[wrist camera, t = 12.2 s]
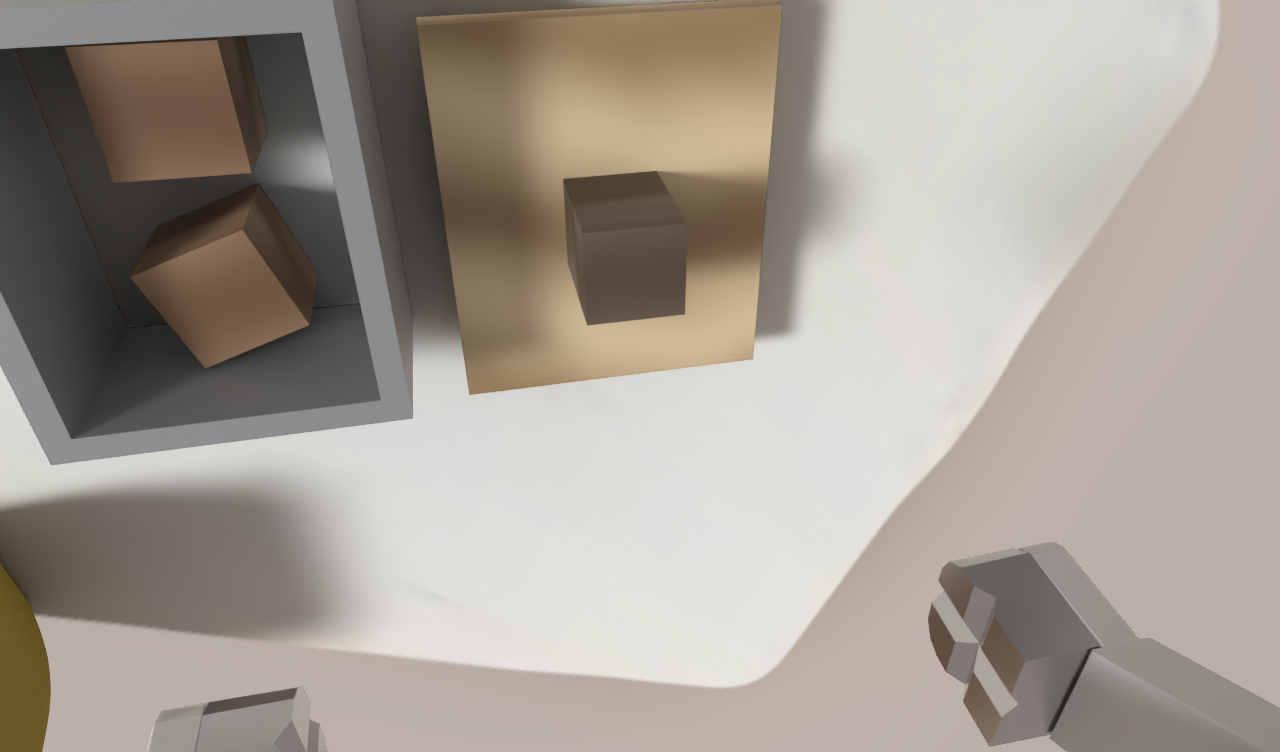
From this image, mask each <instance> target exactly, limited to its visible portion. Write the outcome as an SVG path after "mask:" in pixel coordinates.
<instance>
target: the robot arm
mask: <svg viewBox="0 0 1280 752" xmlns="http://www.w3.org/2000/svg"><path fill="white" fill-rule="evenodd" d="M939 582H940V584H941V586H942V587H943V589H944V591H943V592H942V593H941V594H940V595H939V596H938V597H937V598H936V599H935V600H934V601H933V602H932V604H931V609H930V613H929V617H928V623H929V631H930V639H931V642H932V644H933V647H934V649H935V652H936V655H937V657H938V658H939V660H940V662H941V664H942V666H943V667H944V669H945V671H946V672H947V673H949V674H950V675H952V676H953V677H955V678H957V679H958V680H959V681H961V682H963V683H964V684H965V689H964V697H963V702H964V704H965V706H966V707H967V709H968V711H969V712H970V714H971V716H972V717H973V719H974V721H975V723H976V724H977V726H978V728H979V730H980V731H981V733H982V735H983V736H984V738H985V740H986V742H987V743H988V745H989V746H990V747H991V746H996V745H1001V744H1005V743H1011V742H1016V741H1021V740H1026V739H1031V738H1036V737H1040V736H1046V735H1051V736H1050V739H1051V740H1052V741H1054V742H1055V743H1056V744H1058V745H1059V746H1060V747H1061V748H1063V749H1064V750H1065V751H1067V752H1280V708H1279V707H1277V706H1275V705H1273V704H1272V703H1270V702H1268V701H1266V700H1264V699H1262V698H1261V697H1259V696H1257V695H1255V694H1253V693H1251V692H1249V691H1247V690H1246V689H1244V688H1242V687H1240V686H1238V685H1236V684H1235V683H1233V682H1231V681H1229V680H1227V679H1225V678H1224V677H1222V676H1220V675H1218V674H1216V673H1214V672H1213V671H1211V670H1209V669H1207V668H1205V667H1203V666H1201V665H1200V664H1198V663H1196V662H1194V661H1192V660H1190V659H1189V658H1187V657H1185V656H1183V655H1181V654H1179V653H1177V652H1176V651H1174V650H1172V649H1170V648H1168V647H1166V646H1165V645H1162V644H1161V643H1159V642H1157V641H1155V640H1153V639H1151V638H1144V639H1139V638H1138V637H1137V636H1136V634H1135V633H1134V632H1133V631H1132V630H1131V628H1130V627H1129V626H1128V625H1127V624H1126V622H1125V621H1124V620H1123V619H1122V617H1121V616H1120V615H1119V614H1118V612H1117V611H1116V610H1115V609H1114V608H1113V606H1112V605H1111V604H1110V603H1109V601H1108V600H1107V599H1106V598H1105V597H1104V595H1103V594H1102V593H1101V592H1100V590H1098V588H1097V587H1096V586H1095V584H1094V583H1093V582H1092V581H1091V579H1090V578H1089V577H1088V576H1087V575H1086V573H1085V572H1084V571H1083V570H1082V569H1081V567H1080V566H1079V565H1078V564H1077V562H1075V560H1074V559H1073V558H1072V556H1071V555H1070V554H1069V553H1068V552H1067V550H1066V549H1065V548H1064V547H1062V546H1060V545H1059V544H1057V543H1056V542H1048V543H1042V544H1038V545H1033V546H1028V547H1024V548H1019V549H1015V548H1012V549H1008V550H1002V551H998V552H993V553H988V554H984V555H978V556H974V557H969V558H964V559H959V560H954V561H950V562H948V563H947V564H946V565H945V566H944V567H943V568H942V570H941V574H940V577H939ZM310 705H311V702H310V700H309V698H308V695H307V693H306V691H305V689H304V687H303V686H301V687H296V688H289V689H283V690H278V691H272V692H266V693H260V694H255V695H249V696H243V697H237V698H232V699H225V700H220V701H214V702H207V703H201V704H196V705H190V706H186V707H180V708H174V709H169V710H164V711H162V712H161V714H160V715H159V717H158V719H157V720H156V722H155V724H154V726H153V728H152V732H151V736H150V740H149V744H148V748H147V752H328V751H327V746H326V742H325V737H324V734H323V732H322V729H321V726H320V724H319V723H316V722H314V721H312V720H310V719H309V718H310V717H309V716H310Z"/></svg>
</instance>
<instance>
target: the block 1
mask: <svg viewBox="0 0 1280 752" xmlns="http://www.w3.org/2000/svg"><path fill="white" fill-rule="evenodd" d="M65 50H66V53H67V55H68V58H69V61H70V64H71V67H72V69H73V72H74V75H75V78H76V80H77V83H78V86H79V89H80V92H81V94H82V97H83V100H84V103H85V106H86V108H87V111H88V114H89V117H90V120H91V122H92V125H93V128H94V131H95V133H96V136H97V139H98V142H99V145H100V147H101V150H102V153H103V156H104V159H105V161H106V164H107V167H108V170H109V173H110V175H111V178H112V181H113V183H122V182H136V181H149V180H163V179H177V178H190V177H204V176H218V175H231V174H245V173H252V171H253V168H254V166H255V163H256V161H257V158H258V155H259V153H260V150H261V148H262V145H263V142H264V140H265V137H266V135H267V132H268V130H267V126H266V122H265V118H264V114H263V109H262V105H261V101H260V97H259V93H258V89H257V85H256V81H255V77H254V72H253V68H252V64H251V60H250V56H249V52H248V48H247V44H246V40H245V35H243V36H225V37H207V38H189V39H171V40H153V41H135V42H117V43H99V44H81V45H67V46H66V47H65Z"/></svg>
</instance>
